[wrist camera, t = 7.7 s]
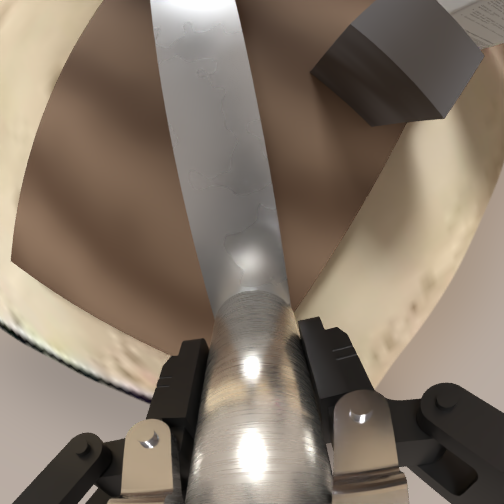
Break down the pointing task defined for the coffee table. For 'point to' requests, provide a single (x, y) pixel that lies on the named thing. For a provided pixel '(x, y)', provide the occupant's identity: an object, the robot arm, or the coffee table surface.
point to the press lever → (237, 271)
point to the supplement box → (479, 19)
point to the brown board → (275, 136)
